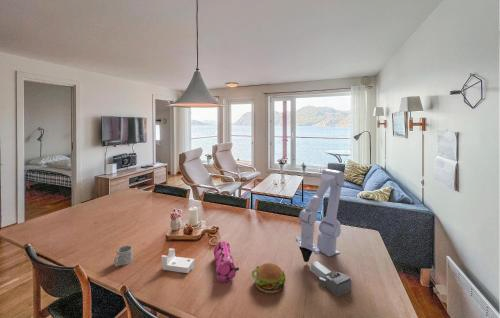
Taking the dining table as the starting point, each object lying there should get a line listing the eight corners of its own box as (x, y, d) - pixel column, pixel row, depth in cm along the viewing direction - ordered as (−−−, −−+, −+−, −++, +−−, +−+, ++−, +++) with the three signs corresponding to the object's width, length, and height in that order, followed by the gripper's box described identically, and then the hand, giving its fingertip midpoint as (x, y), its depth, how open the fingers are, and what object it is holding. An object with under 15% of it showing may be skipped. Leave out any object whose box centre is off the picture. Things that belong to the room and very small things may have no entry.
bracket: (162, 271, 108) (161, 256, 107) (170, 262, 115) (169, 248, 114) (188, 275, 105) (187, 259, 104) (195, 265, 112) (194, 251, 111)
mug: (124, 257, 120) (123, 244, 119) (136, 258, 118) (135, 246, 117) (109, 268, 110) (108, 255, 109) (121, 270, 109) (120, 257, 108)
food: (252, 273, 106) (252, 257, 104) (283, 274, 105) (283, 258, 104) (251, 295, 92) (251, 277, 91) (286, 296, 92) (287, 278, 90)
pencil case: (239, 281, 101) (239, 259, 99) (217, 285, 98) (216, 263, 97) (230, 254, 121) (230, 236, 120) (211, 257, 119) (211, 239, 117)
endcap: (317, 283, 99) (318, 271, 98) (334, 276, 104) (335, 265, 103) (335, 298, 91) (336, 285, 90) (353, 289, 95) (353, 277, 94)
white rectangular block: (310, 271, 108) (311, 263, 107) (316, 269, 109) (316, 261, 109) (325, 282, 100) (325, 274, 99) (331, 280, 101) (331, 271, 101)
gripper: (290, 230, 115) (290, 255, 117) (311, 243, 103) (310, 271, 105) (302, 227, 118) (301, 252, 120) (323, 239, 106) (321, 267, 108)
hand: (306, 261), depth 113 cm, fingers closed
